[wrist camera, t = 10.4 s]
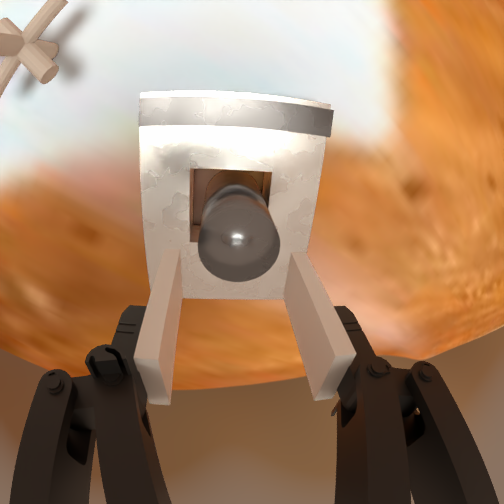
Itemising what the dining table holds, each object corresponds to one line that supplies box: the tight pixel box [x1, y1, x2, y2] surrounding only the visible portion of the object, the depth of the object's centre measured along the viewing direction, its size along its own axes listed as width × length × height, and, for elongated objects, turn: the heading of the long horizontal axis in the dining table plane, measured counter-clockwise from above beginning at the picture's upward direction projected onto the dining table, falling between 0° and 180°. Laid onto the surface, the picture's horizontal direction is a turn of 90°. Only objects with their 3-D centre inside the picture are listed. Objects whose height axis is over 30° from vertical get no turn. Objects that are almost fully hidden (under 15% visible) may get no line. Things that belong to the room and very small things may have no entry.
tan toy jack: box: [0, 0, 68, 97], centre depth 11 cm, size 10×10×10 cm
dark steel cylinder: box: [198, 169, 280, 282], centre depth 21 cm, size 5×5×10 cm
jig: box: [139, 91, 334, 299], centre depth 23 cm, size 14×18×6 cm
